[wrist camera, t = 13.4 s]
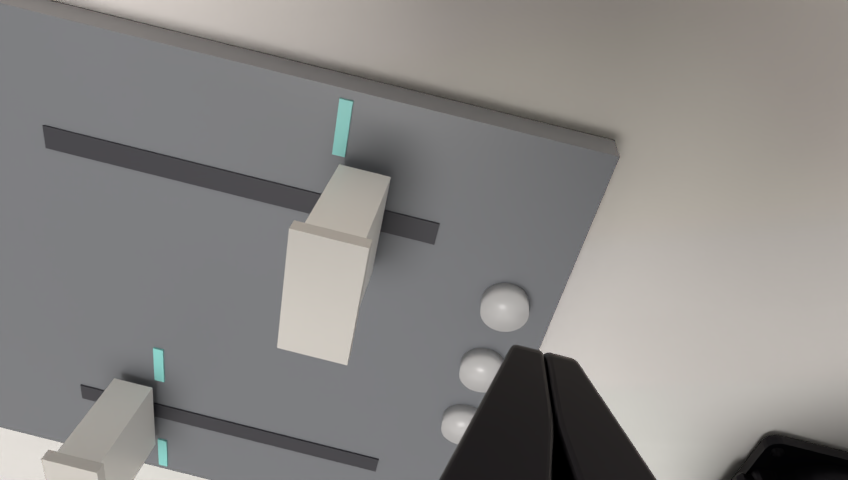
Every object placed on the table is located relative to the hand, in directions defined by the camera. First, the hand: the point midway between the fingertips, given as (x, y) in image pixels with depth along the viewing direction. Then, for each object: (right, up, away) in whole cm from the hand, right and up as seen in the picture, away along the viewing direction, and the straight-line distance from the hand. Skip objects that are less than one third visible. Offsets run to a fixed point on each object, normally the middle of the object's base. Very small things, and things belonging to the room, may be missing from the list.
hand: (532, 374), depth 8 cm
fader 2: (-4, +2, +11) cm, 12 cm away
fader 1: (-14, -5, +18) cm, 23 cm away
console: (-8, -1, +16) cm, 18 cm away
